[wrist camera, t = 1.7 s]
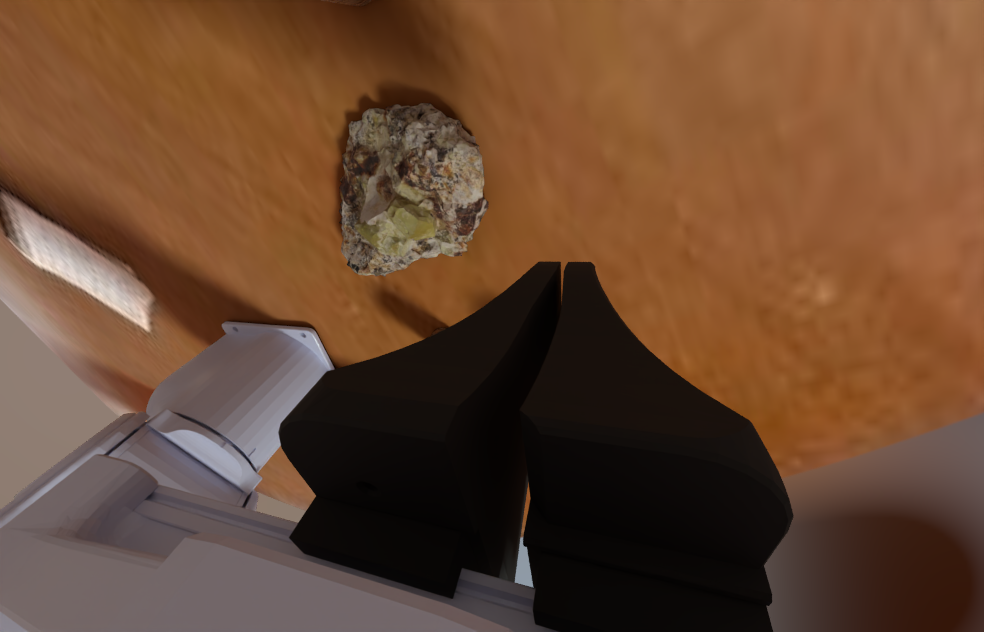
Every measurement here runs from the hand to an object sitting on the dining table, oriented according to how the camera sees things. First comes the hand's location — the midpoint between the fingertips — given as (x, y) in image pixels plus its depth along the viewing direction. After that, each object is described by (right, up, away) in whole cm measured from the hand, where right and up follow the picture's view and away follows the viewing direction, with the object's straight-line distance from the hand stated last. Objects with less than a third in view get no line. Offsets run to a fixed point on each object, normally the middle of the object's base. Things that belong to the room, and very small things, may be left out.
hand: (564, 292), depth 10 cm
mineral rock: (-7, +6, +9) cm, 13 cm away
